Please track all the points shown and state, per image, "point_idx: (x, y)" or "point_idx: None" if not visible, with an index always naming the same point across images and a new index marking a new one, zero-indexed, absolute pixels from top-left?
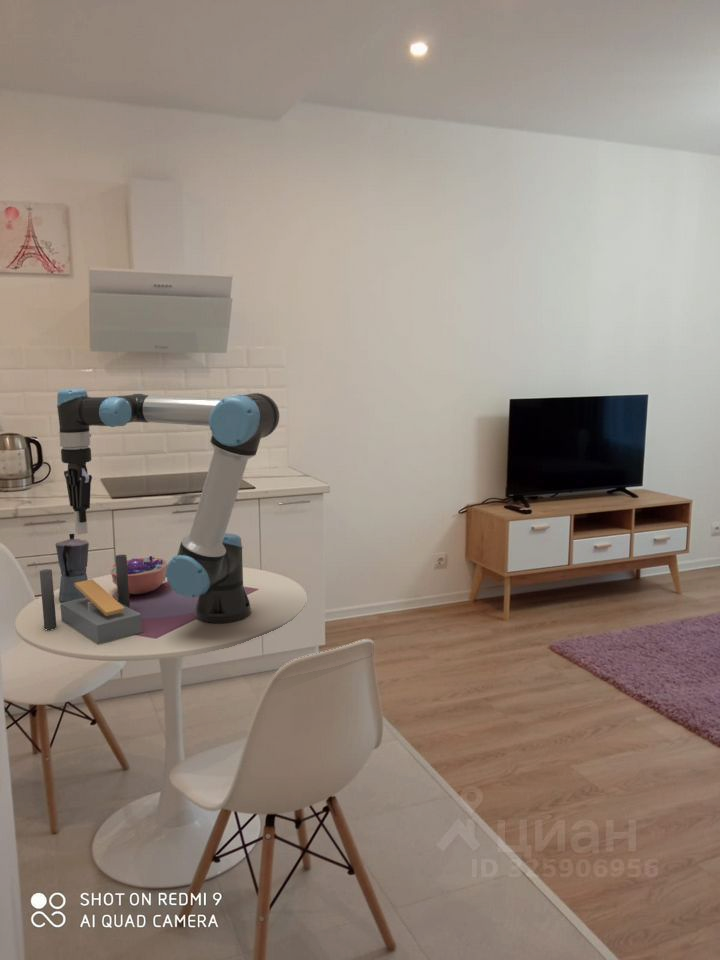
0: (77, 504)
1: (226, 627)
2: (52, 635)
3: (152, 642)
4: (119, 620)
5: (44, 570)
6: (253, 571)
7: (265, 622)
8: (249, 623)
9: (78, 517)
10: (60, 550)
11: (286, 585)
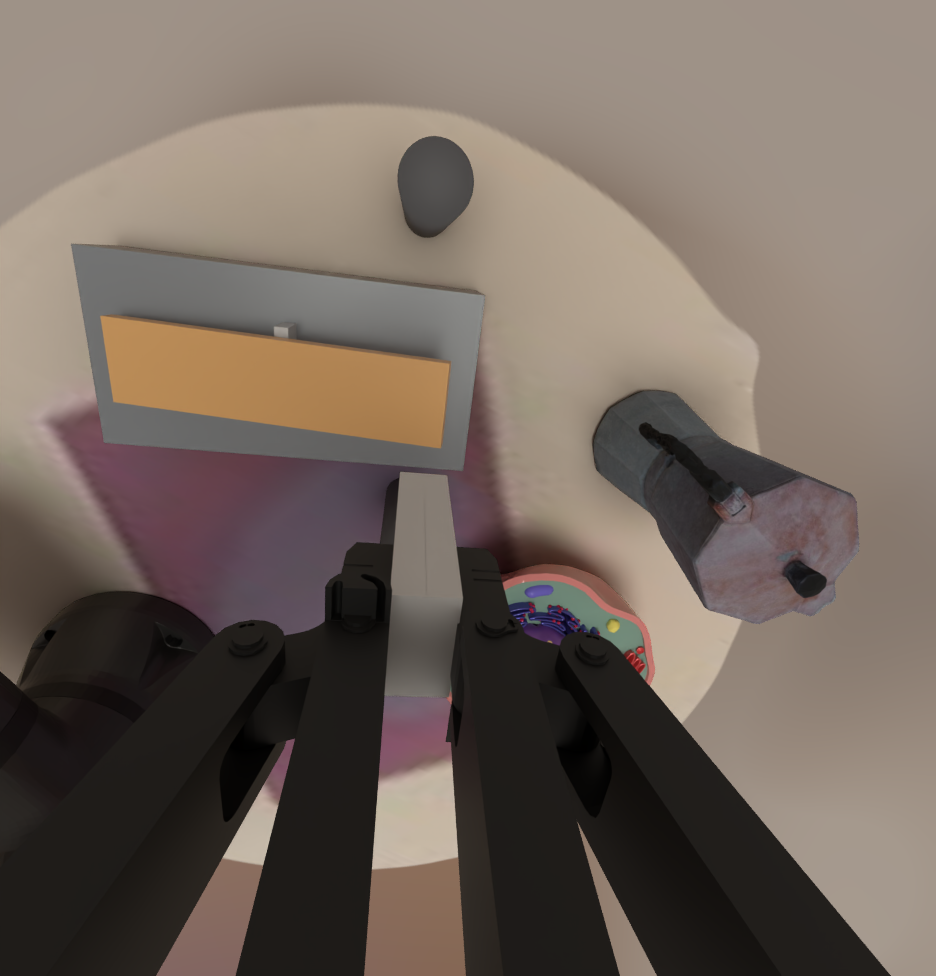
0: (336, 669)
1: (12, 609)
2: (345, 174)
3: (14, 391)
4: (89, 348)
5: (452, 181)
6: (424, 858)
7: None
8: (5, 664)
9: (391, 565)
10: (765, 475)
11: (251, 854)
